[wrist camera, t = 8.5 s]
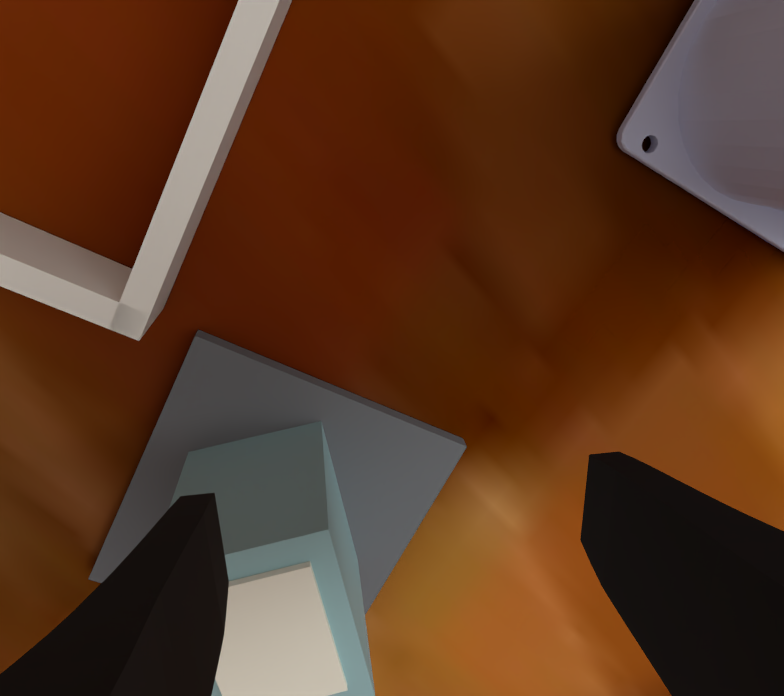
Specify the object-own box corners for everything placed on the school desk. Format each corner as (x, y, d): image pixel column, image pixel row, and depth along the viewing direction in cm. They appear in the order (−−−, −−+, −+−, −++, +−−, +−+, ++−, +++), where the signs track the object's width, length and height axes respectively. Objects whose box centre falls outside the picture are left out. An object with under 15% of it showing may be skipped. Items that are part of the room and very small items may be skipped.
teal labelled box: (321, 420, 20) (328, 534, 14) (357, 559, 22) (376, 704, 17) (188, 451, 20) (144, 579, 14) (238, 589, 22) (217, 746, 16)
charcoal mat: (462, 438, 22) (466, 446, 21) (343, 638, 24) (344, 649, 24) (198, 329, 19) (195, 335, 18) (93, 567, 21) (88, 579, 21)
